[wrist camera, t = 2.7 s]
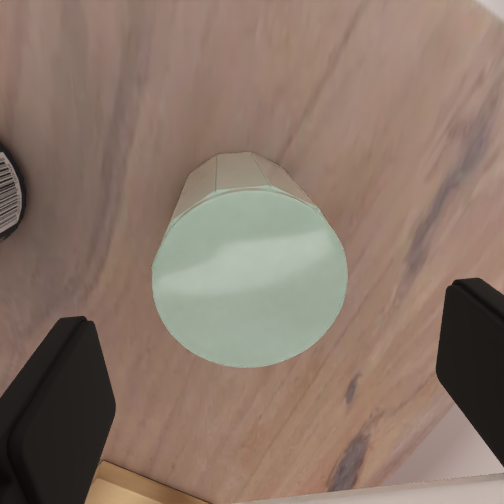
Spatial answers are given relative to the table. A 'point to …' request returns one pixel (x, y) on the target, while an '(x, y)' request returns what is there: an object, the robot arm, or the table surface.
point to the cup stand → (131, 489)
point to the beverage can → (10, 194)
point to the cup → (247, 265)
